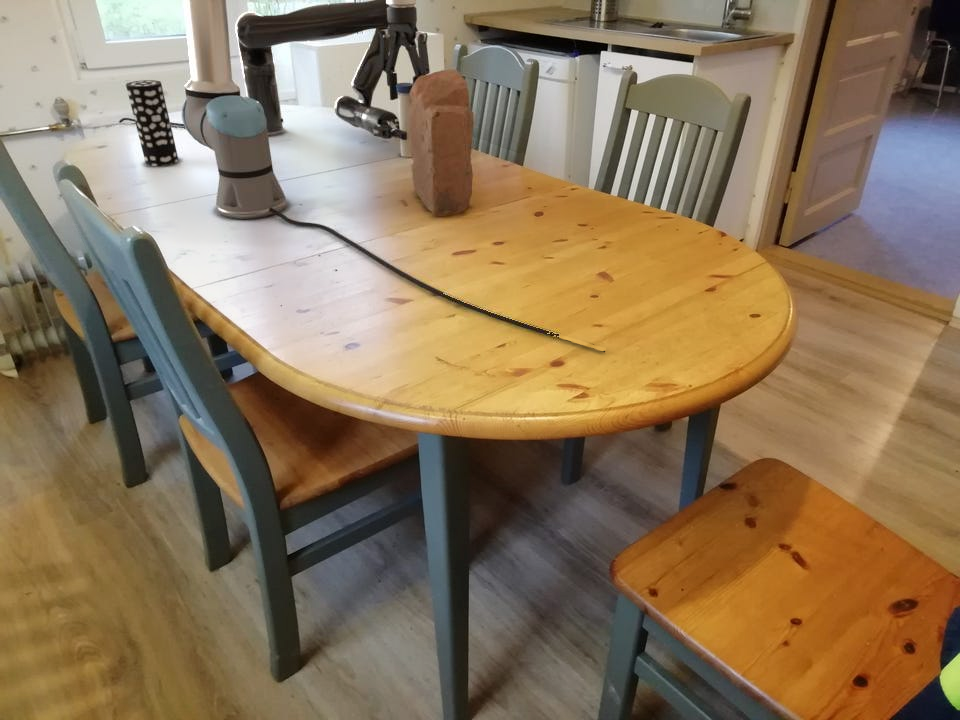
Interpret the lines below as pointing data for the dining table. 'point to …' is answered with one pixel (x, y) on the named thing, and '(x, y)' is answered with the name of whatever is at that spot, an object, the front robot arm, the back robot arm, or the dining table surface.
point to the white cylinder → (405, 122)
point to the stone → (441, 141)
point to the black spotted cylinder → (152, 122)
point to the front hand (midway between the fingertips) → (405, 100)
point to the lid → (403, 87)
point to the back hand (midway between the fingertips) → (412, 134)
